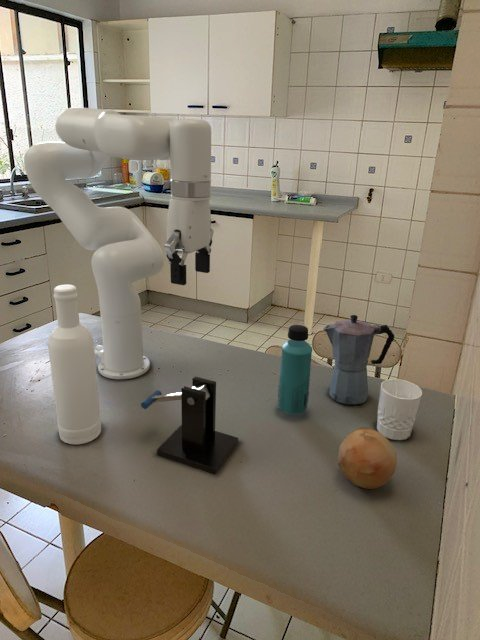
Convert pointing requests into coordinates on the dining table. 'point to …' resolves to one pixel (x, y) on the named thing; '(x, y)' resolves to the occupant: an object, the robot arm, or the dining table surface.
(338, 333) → the moka pot
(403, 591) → the dining table surface
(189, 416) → the bracket
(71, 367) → the bottle
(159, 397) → the lever
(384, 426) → the white cup
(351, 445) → the onion
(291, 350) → the beverage bottle
